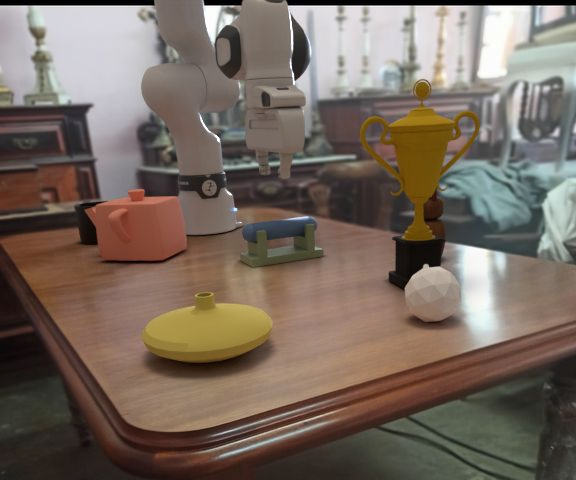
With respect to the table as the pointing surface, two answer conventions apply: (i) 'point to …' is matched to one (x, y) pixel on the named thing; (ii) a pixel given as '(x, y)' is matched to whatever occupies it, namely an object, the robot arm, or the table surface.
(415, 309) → the ornament
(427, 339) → the table surface
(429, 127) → the trophy
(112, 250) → the teapot
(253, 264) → the holder
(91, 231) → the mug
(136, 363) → the table surface
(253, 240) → the handle
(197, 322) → the vase
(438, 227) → the wooden figurine
